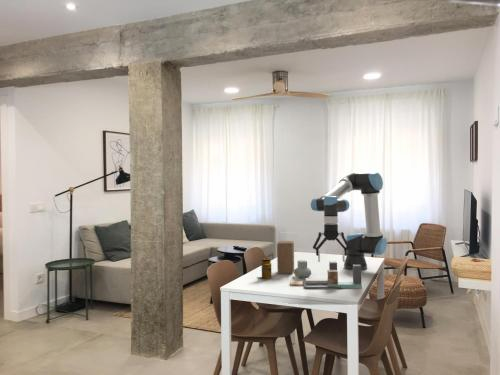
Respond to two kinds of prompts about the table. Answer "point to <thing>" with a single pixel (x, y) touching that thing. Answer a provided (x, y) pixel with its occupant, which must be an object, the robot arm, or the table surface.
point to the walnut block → (332, 277)
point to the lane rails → (319, 286)
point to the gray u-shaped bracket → (314, 280)
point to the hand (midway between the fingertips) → (331, 261)
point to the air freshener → (302, 270)
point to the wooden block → (285, 257)
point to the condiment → (266, 269)
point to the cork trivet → (296, 283)
